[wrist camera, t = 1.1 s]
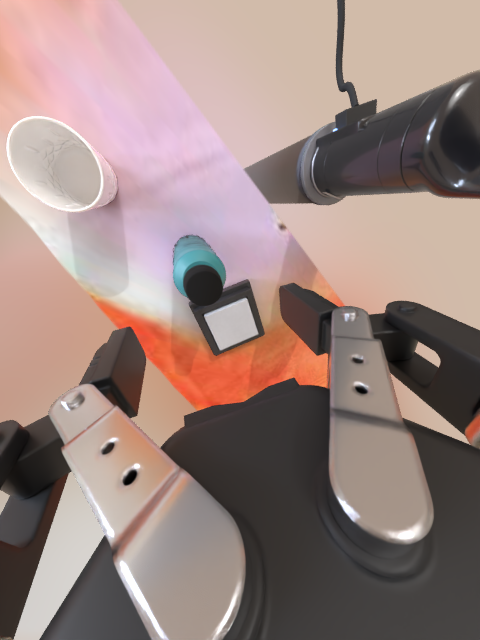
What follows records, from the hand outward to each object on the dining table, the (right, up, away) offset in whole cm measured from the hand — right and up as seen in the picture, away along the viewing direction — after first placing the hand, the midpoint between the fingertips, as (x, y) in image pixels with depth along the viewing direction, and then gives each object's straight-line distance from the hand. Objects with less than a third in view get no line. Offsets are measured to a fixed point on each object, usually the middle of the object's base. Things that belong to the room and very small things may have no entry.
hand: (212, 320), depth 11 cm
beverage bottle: (-7, +13, +27) cm, 30 cm away
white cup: (-20, +20, +18) cm, 34 cm away
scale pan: (0, -1, +33) cm, 33 cm away
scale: (-1, +1, +35) cm, 35 cm away
